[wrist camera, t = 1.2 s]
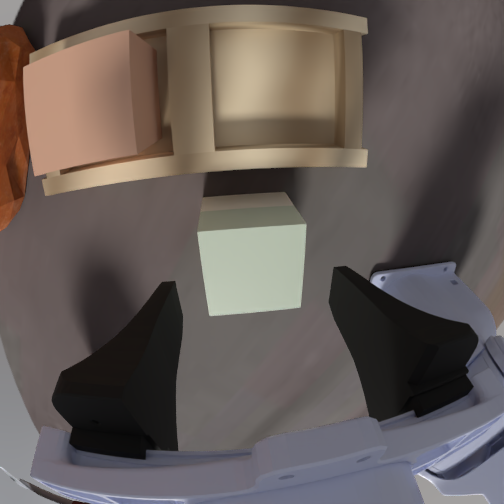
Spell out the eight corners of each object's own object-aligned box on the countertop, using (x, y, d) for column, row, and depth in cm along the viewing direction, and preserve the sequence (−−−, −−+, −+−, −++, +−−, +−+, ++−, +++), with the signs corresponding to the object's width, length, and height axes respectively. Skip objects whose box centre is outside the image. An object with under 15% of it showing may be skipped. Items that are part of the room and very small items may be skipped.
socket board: (346, 24, 12) (366, 15, 10) (346, 160, 17) (366, 170, 15) (52, 54, 11) (29, 50, 9) (66, 185, 16) (46, 199, 13)
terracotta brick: (156, 50, 12) (129, 29, 7) (162, 138, 14) (137, 154, 10) (73, 71, 11) (23, 67, 7) (81, 152, 14) (34, 176, 9)
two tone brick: (284, 191, 18) (306, 224, 13) (283, 261, 20) (300, 307, 16) (202, 196, 17) (197, 231, 13) (210, 267, 20) (209, 315, 15)
